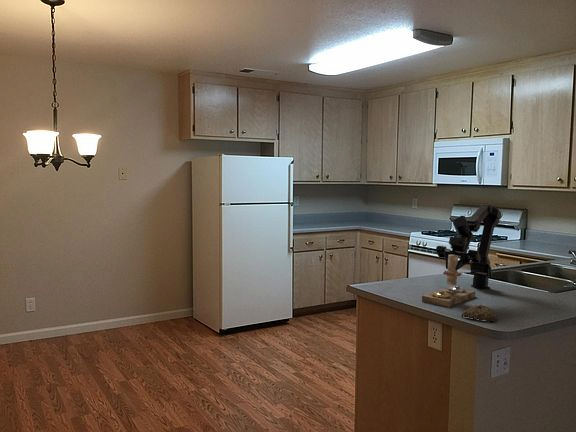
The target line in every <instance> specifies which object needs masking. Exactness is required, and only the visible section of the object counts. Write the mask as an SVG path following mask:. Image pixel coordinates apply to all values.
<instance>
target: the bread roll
mask: <svg viewBox="0 0 576 432" xmlns="http://www.w3.org/2000/svg"><path fill="white" fill-rule="evenodd" d="M461 315H462V316H464V317H469V318H473V319H479V320H486V321H494V322H495V320H497V318H498V317H497V315H496V313H495V312H494V310H493V309H491V308H490V307H489V306H485V305H482V304H479V305H473V306H471V307H469V308H467V309H466V310H464V311H463V312H462V313H461ZM462 316H461V317H462Z"/></svg>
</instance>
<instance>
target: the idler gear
mask: <svg viewBox="0 0 576 432" xmlns="http://www.w3.org/2000/svg"><path fill="white" fill-rule="evenodd" d="M458 262H459V256H458V255H448V269H447V270H445V271H443V272H442V273H443V275H445V276H446V284H447V285H451V286H457V284H458V283H457V281H458V280H457V279H458V277H461V276H462V272H459V271H458V270H457V271H456V270H455V269H456V266H457V264H458Z"/></svg>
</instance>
